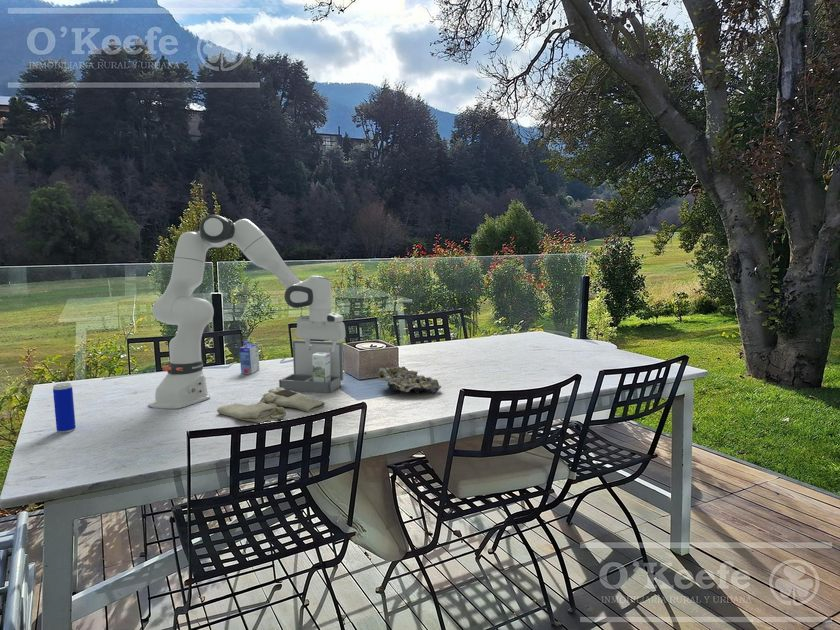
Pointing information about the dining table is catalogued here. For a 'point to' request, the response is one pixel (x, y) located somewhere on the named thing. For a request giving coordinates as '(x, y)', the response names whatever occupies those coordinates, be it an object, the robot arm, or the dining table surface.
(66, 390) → the beverage can
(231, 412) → the pair of gloves
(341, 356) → the equipment case
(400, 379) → the decorative rock
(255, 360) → the ink cartridge box
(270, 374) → the dining table surface
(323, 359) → the syrup box
